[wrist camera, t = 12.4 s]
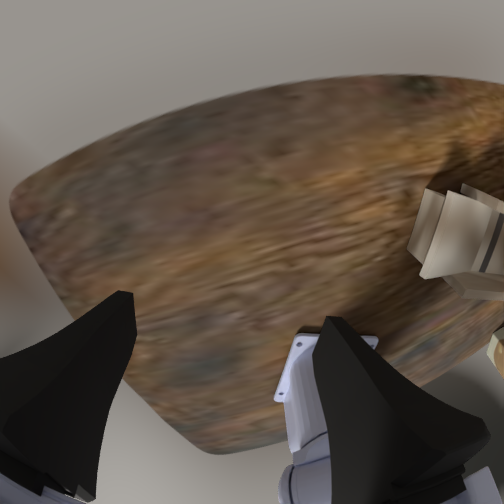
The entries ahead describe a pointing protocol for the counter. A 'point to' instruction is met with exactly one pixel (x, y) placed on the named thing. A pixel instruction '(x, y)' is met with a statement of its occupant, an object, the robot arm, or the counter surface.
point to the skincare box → (497, 350)
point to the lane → (461, 241)
